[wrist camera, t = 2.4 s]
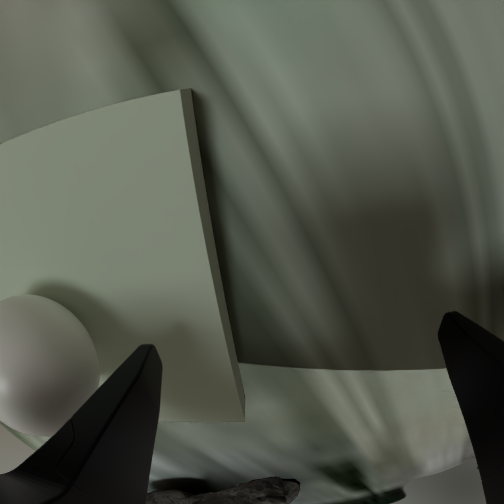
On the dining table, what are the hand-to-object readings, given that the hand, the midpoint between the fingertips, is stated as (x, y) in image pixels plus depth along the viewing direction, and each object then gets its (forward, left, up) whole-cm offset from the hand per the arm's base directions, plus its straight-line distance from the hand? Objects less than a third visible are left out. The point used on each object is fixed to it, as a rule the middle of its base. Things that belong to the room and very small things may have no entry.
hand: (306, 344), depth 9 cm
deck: (+12, 0, -3) cm, 12 cm away
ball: (+9, 0, +1) cm, 9 cm away
